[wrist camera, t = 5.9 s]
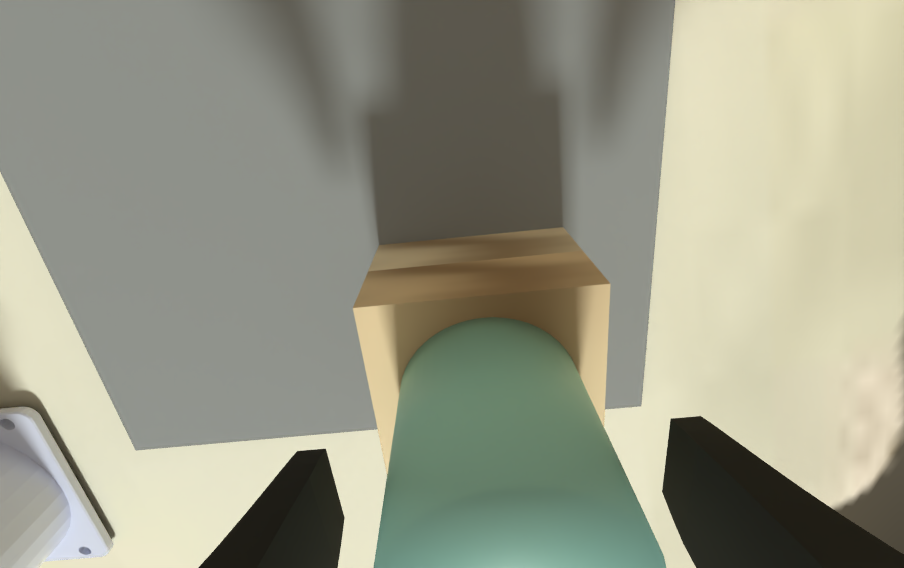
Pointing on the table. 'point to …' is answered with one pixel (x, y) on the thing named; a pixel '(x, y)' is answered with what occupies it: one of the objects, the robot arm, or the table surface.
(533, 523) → the green rounded knob
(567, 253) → the oak slab top
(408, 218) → the slate mat
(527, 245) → the birch slab low
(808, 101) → the table surface
